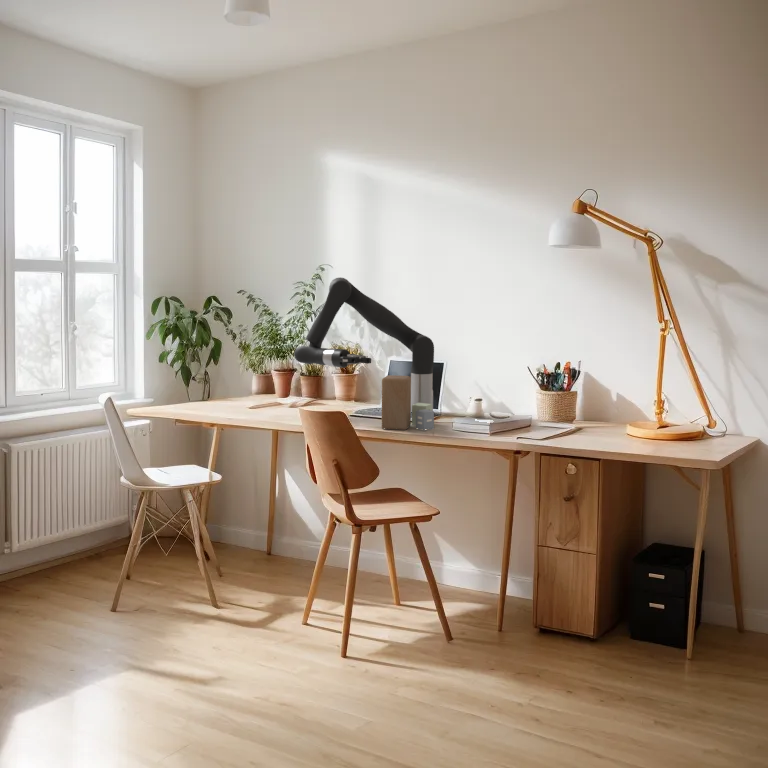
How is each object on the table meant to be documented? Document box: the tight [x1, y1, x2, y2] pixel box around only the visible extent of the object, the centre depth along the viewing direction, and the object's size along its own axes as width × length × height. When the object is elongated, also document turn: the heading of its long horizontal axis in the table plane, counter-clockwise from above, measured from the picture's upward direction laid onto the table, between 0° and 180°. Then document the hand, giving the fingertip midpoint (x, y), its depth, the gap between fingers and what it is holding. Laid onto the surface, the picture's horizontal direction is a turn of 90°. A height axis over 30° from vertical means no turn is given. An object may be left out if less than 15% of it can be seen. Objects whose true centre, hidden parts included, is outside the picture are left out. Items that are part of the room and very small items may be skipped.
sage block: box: [411, 403, 432, 426], centre depth 338 cm, size 6×6×8 cm
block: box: [381, 374, 412, 431], centre depth 330 cm, size 10×10×20 cm
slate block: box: [415, 409, 435, 431], centre depth 329 cm, size 5×5×7 cm
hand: (370, 360), depth 339 cm, fingers closed
